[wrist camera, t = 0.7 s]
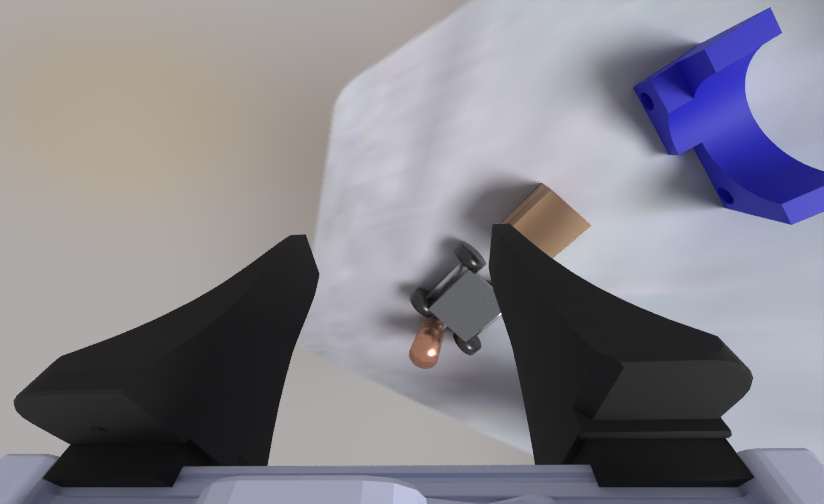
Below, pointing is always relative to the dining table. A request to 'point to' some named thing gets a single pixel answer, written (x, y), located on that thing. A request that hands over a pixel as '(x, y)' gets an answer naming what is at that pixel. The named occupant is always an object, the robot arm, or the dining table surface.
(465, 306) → the dolly
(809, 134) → the dining table surface
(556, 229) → the block
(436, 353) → the pin
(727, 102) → the cable clip
